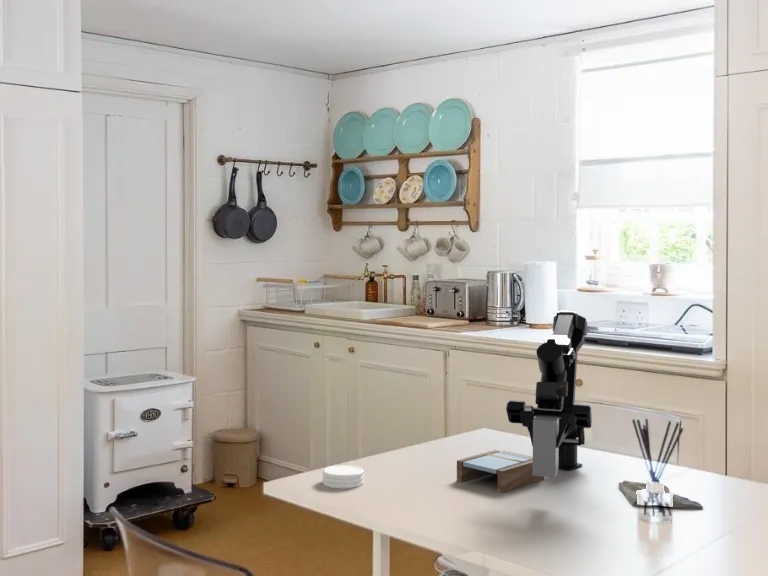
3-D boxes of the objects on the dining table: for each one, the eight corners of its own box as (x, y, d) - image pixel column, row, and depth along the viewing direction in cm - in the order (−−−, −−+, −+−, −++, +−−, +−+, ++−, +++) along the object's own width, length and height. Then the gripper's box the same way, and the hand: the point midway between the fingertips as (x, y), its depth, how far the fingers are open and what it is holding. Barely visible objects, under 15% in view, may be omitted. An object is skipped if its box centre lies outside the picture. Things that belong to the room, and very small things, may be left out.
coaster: (335, 492, 211) (335, 477, 211) (315, 482, 219) (315, 468, 219) (371, 485, 216) (371, 471, 216) (350, 476, 225) (350, 462, 225)
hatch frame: (544, 478, 221) (544, 458, 221) (502, 492, 210) (502, 471, 210) (498, 468, 231) (499, 448, 231) (456, 480, 220) (456, 460, 219)
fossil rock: (615, 488, 215) (615, 479, 215) (678, 489, 215) (678, 479, 215) (634, 511, 197) (634, 500, 197) (703, 511, 197) (703, 501, 197)
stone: (536, 469, 204) (536, 415, 203) (558, 471, 203) (558, 416, 202) (532, 475, 199) (533, 419, 199) (555, 477, 198) (555, 421, 197)
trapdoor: (536, 469, 222) (536, 456, 222) (495, 482, 211) (495, 468, 211) (503, 462, 229) (504, 449, 229) (463, 474, 218) (463, 461, 218)
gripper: (507, 365, 206) (498, 423, 196) (591, 369, 200) (585, 428, 190) (513, 393, 214) (504, 450, 204) (594, 397, 208) (588, 456, 198)
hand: (544, 445), depth 199 cm, fingers closed on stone, 5 cm apart
